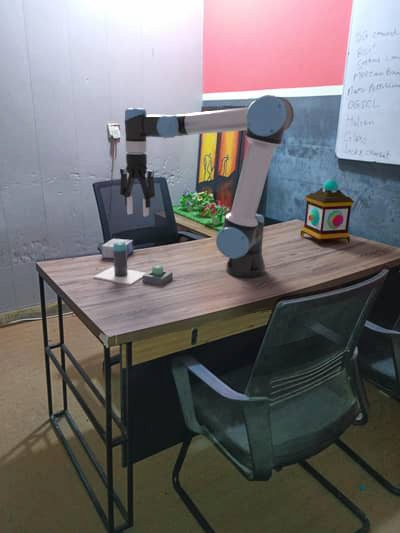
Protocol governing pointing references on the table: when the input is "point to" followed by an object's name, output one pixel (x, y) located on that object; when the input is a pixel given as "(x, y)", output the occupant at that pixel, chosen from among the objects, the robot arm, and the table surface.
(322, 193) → the decorative lantern
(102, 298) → the table surface
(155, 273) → the button
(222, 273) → the table surface
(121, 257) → the ball
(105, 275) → the paper pad
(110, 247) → the ink cartridge box
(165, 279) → the button housing
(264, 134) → the robot arm
